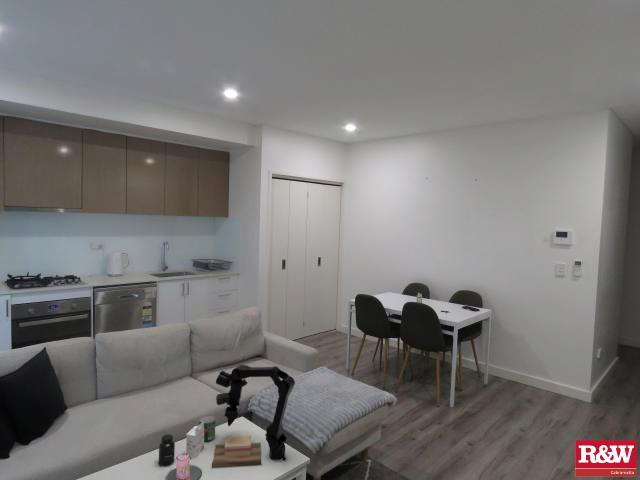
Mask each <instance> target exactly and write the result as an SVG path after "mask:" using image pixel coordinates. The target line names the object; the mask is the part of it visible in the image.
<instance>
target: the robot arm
mask: <svg viewBox="0 0 640 480" xmlns="http://www.w3.org/2000/svg"><path fill="white" fill-rule="evenodd" d="M265 377H266V378H270V379H271V380H272V381H273V383H274V385H275V386H276V387H277V393H278V399H277V404H276V408H275V411H274V415H273V420H272V422H271V423H270V424H269V425H268V426H267V427H266V432H265V434H264V436H265V441H266V442H267V445H268V448H269V456H268V457H269V459H270V460H272V461H274V460H275V461H280V460H282V461H287V457H286V444H285V443H286V442H287V440H288V438H287V436H286V434H284V432H283V431H284V427H283V421H284V417H285V413H286V408H287V404H288V401H289V397H290V395H291V393H292V392H293V389H294V387H295V384H296V381H295V379H294V378H293V377H292V376H290V375H289V374H288V373H287V372H285V371H283V370H282V369H280V368H279V367H278V366H259V367H258V366H256V367H255V366H253V367H252V366H249V365H245V364H240V365H237V366H236V367H235V368H233V369H232V371H231V373H228V372H226V371H224V370H220V371H219V374H218V375H217V378H216V380H215V384H216V385H219V386H220V387H223V388H226V389H227V388H229V387H230V388H229V390H228V392H222V393H218V394H216V397H215V399H216V402H215V403H216V404H217V406H223V405H225V404H226V405H227V407H226V408H225V410H224V411H225V412H224V417H226V418H227V426H228V427H230V426H232V425H233V423H234V421H235V420H236V419H237V418H238V417H239V412H240V411H239V408H238V407H239V406H240V403H241V402H240V401H241V397H242V391H243V387H245V386H247V385H248V382H247V381H246V379H248V378H265Z"/></svg>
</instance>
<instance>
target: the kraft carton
mask: <svg viewBox="0 0 640 480" xmlns="http://www.w3.org/2000/svg"><path fill="white" fill-rule="evenodd" d="M251 443H252V435H234V436H232V435H231V436H230V435H229V436H225V443H224V444H225V457H236V456H250V454H251Z"/></svg>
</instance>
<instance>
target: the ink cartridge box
mask: <svg viewBox="0 0 640 480" xmlns="http://www.w3.org/2000/svg"><path fill="white" fill-rule="evenodd" d="M200 426H201V427H200ZM204 449H205V442H204V421H203V422H202V423H201V424H200V425H195V426H193V427H192V428H191V429H190V430H189V432H187V433H186V454H189V455H190V458H191V459H193V458H194V459H196V458H197V457H198V456H199V454H200V453H202V451H203V450H204Z"/></svg>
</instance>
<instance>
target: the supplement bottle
mask: <svg viewBox="0 0 640 480" xmlns="http://www.w3.org/2000/svg"><path fill="white" fill-rule="evenodd" d="M173 437H174V436H173V435H172V434H164V435H162V437H161V441H160V443H159V445H158V464H159V466H160V467H168V466H171V465H173V463H174V462H175V453H176V452H175V450H176V443H175V441H174V438H173Z"/></svg>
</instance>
